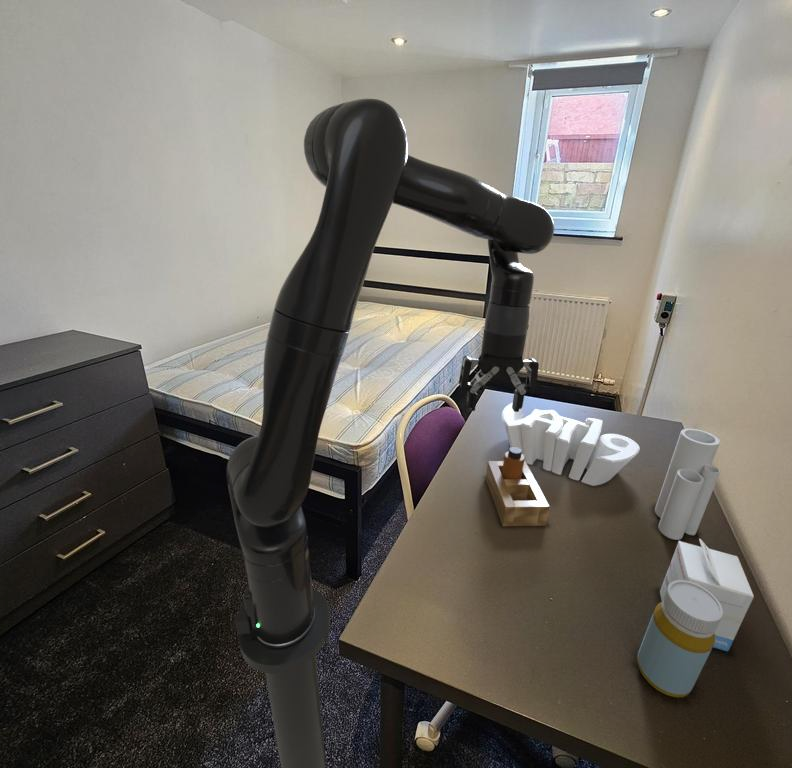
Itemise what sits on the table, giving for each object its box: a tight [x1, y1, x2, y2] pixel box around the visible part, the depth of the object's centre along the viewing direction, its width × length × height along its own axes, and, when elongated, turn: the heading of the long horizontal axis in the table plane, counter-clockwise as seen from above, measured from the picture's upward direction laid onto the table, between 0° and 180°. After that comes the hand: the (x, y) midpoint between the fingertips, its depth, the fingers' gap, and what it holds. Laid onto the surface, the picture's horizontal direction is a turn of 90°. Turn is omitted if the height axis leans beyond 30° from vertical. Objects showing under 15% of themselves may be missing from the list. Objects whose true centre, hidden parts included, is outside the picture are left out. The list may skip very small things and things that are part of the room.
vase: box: [654, 428, 721, 541], centre depth 84 cm, size 11×7×20 cm, turn 160°
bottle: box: [636, 580, 723, 698], centre depth 56 cm, size 7×7×15 cm
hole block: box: [485, 460, 551, 527], centre depth 92 cm, size 9×16×5 cm, turn 4°
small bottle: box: [502, 447, 525, 479], centre depth 94 cm, size 4×4×11 cm
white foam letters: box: [501, 401, 640, 487], centre depth 107 cm, size 35×16×11 cm, turn 55°
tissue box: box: [659, 538, 755, 652], centre depth 64 cm, size 9×8×13 cm
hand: (493, 409), depth 79 cm, fingers open, 8 cm apart
